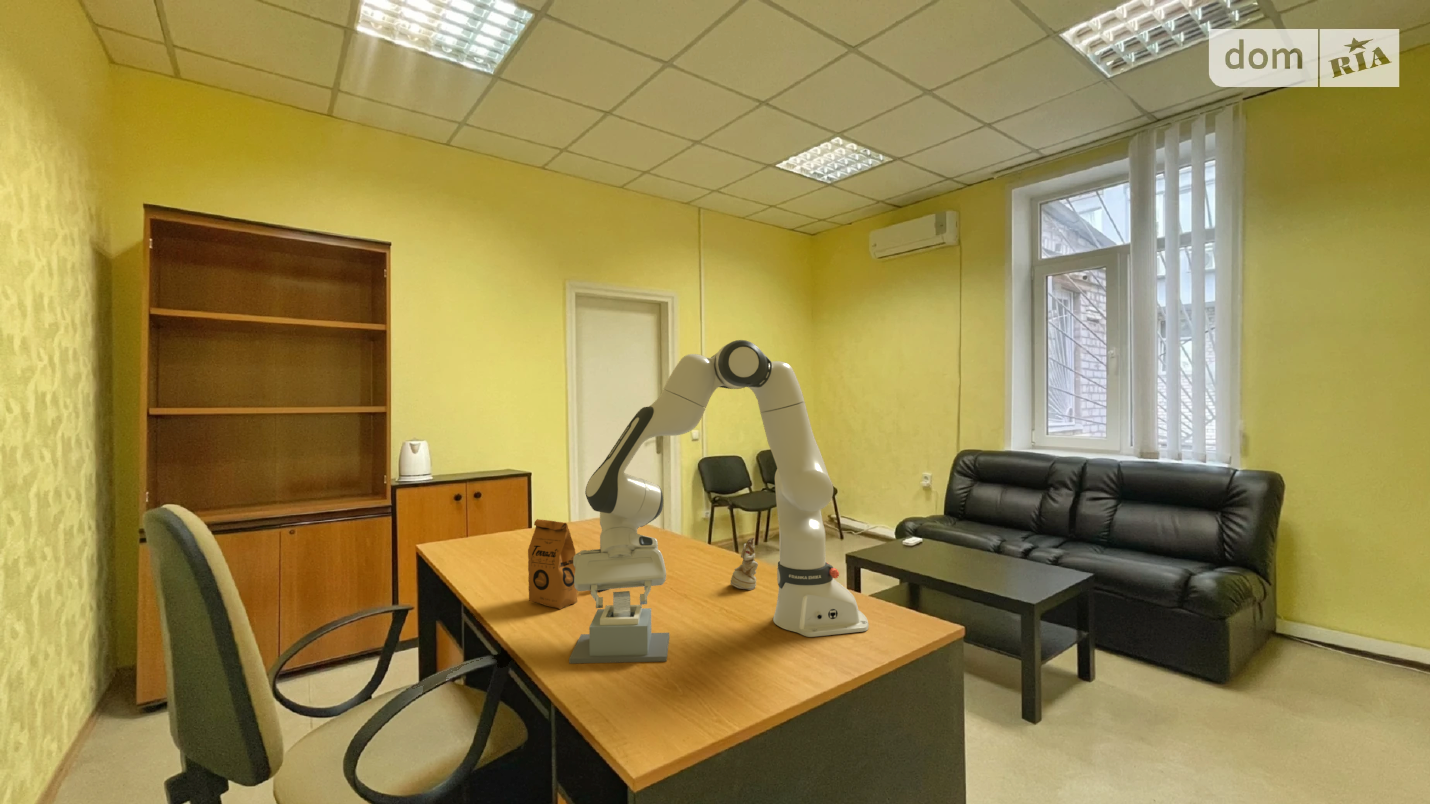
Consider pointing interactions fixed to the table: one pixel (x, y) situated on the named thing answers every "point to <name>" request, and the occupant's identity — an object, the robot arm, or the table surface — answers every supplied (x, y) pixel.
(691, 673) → the table surface
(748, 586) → the figurine
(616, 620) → the frame
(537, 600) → the coffee package
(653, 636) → the block
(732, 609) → the table surface
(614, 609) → the shaft
